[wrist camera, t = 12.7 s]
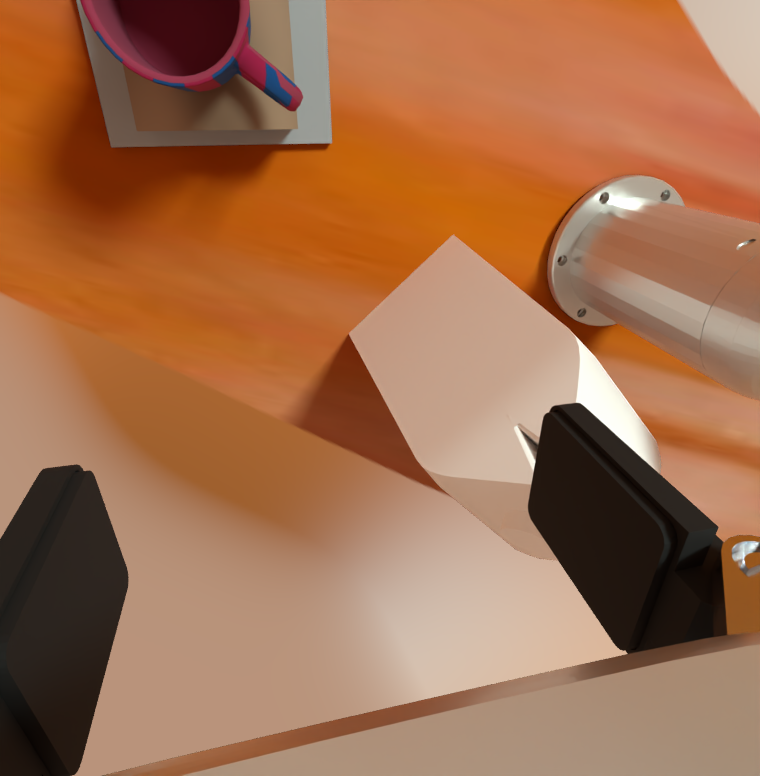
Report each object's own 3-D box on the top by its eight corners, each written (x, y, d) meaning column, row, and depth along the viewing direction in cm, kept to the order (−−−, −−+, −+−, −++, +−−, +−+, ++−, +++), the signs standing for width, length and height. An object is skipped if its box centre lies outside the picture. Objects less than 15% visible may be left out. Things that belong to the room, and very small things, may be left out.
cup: (164, -104, 24) (135, -171, 18) (322, 68, 29) (340, 58, 23) (88, 17, 26) (39, -10, 20) (250, 162, 30) (249, 175, 25)
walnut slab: (280, -49, 29) (283, -70, 26) (293, 126, 34) (298, 129, 30) (112, -57, 28) (91, -81, 24) (149, 129, 32) (136, 131, 28)
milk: (530, 331, 46) (791, 542, 23) (435, 414, 48) (592, 680, 26) (453, 234, 40) (702, 391, 18) (348, 333, 42) (453, 585, 20)
